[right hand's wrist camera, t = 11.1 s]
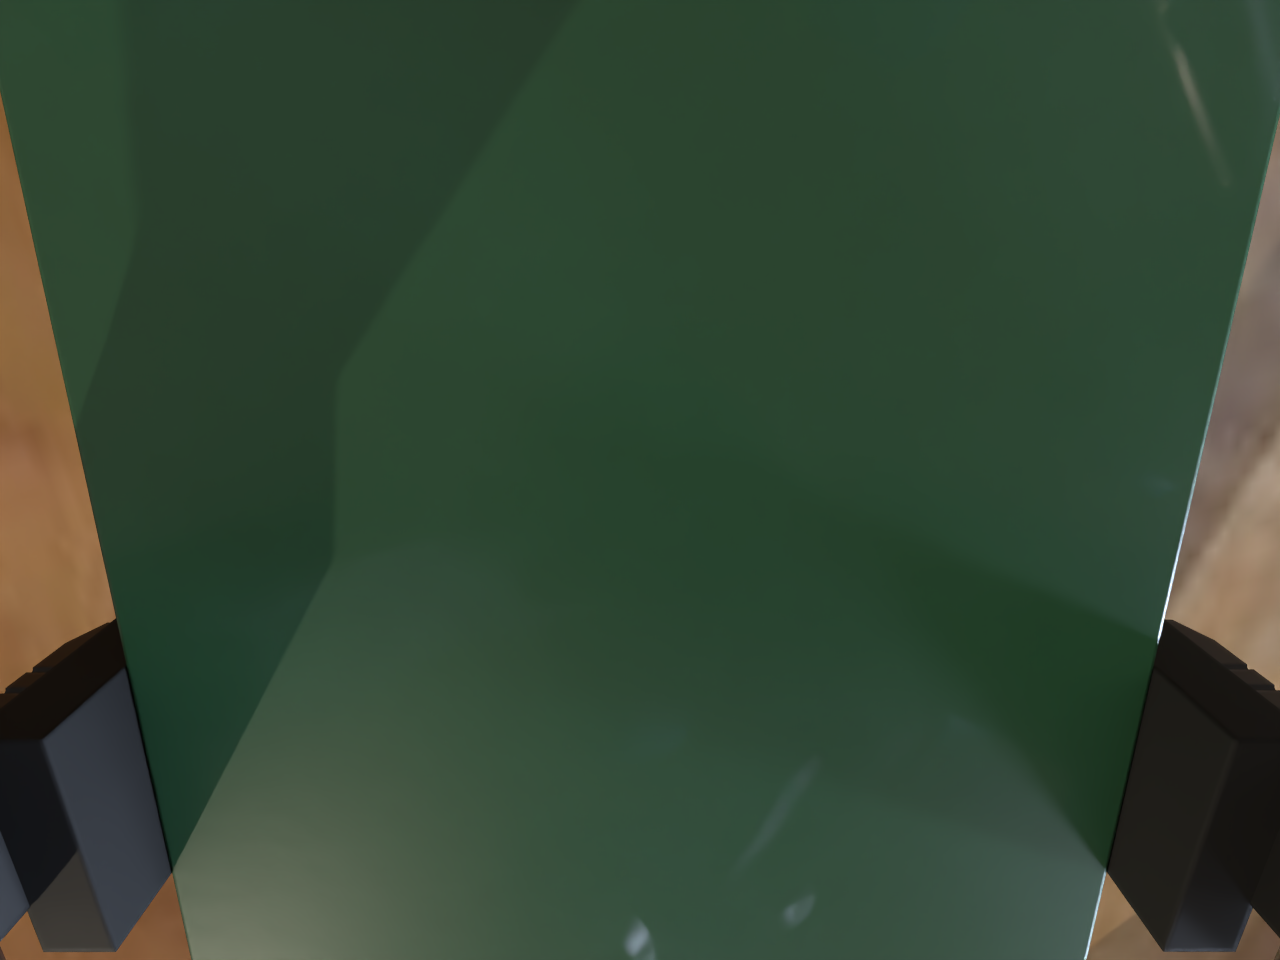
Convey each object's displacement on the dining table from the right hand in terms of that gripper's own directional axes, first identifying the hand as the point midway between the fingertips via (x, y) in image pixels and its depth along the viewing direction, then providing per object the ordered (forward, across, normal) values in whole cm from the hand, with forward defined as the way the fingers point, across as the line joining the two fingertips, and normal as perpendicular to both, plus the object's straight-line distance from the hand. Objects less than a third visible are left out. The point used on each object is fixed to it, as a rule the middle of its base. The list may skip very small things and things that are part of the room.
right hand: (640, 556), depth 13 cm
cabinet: (+7, 0, -5) cm, 8 cm away
